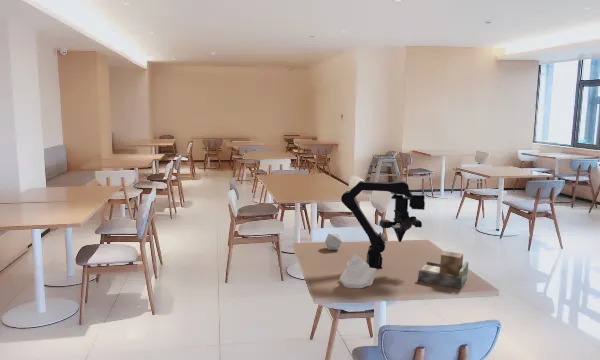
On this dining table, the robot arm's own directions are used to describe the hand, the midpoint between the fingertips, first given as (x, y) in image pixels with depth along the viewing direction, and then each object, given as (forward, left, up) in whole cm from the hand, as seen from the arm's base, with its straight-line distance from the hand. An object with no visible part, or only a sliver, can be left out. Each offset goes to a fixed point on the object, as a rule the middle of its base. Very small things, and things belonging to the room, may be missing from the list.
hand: (399, 241), depth 225 cm
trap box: (+15, -15, -13) cm, 25 cm away
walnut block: (+17, -18, -9) cm, 26 cm away
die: (-22, +34, -13) cm, 43 cm away
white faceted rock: (-25, -18, -13) cm, 34 cm away
